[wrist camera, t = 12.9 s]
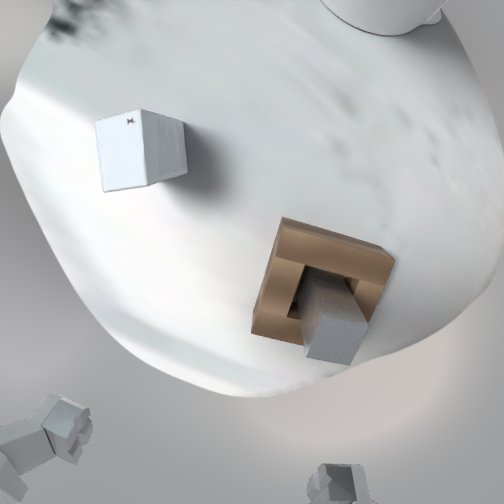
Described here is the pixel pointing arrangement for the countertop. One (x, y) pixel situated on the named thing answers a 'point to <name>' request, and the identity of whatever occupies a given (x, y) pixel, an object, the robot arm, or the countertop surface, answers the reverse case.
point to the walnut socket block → (319, 256)
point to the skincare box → (139, 149)
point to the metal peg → (329, 317)
